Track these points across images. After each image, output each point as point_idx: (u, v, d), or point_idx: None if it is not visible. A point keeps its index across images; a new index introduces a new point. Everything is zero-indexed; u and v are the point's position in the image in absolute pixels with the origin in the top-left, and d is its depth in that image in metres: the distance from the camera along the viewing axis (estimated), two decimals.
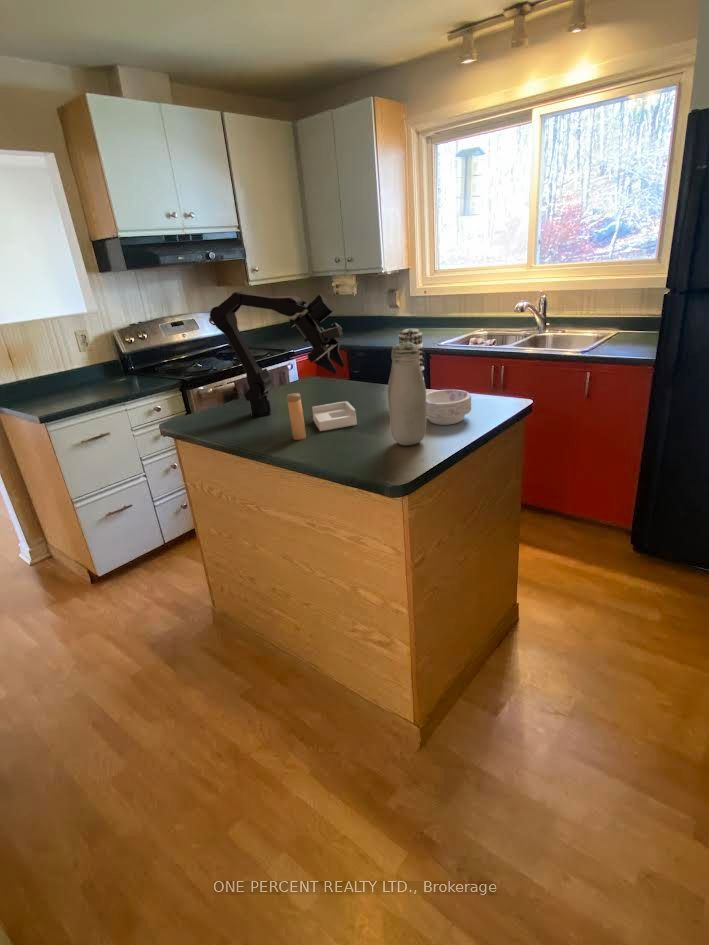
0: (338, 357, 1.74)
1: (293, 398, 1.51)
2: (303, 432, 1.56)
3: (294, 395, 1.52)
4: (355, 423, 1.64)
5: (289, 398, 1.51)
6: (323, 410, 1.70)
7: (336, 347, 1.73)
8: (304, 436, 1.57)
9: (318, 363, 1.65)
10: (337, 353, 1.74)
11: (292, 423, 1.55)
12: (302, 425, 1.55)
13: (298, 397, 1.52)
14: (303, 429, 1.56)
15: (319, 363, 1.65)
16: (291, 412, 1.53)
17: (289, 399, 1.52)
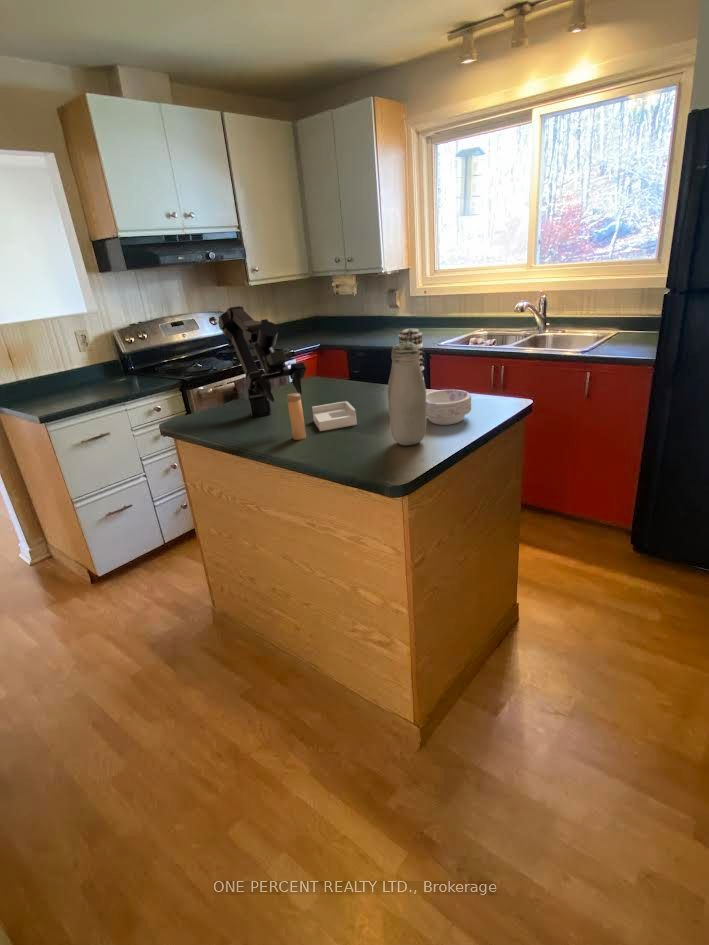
0: (297, 384, 1.60)
1: (293, 398, 1.51)
2: (303, 432, 1.56)
3: (294, 395, 1.52)
4: (355, 423, 1.64)
5: (289, 398, 1.51)
6: (323, 410, 1.70)
7: (295, 374, 1.60)
8: (304, 436, 1.57)
9: (259, 390, 1.58)
10: (296, 380, 1.60)
11: (292, 423, 1.55)
12: (302, 425, 1.55)
13: (298, 397, 1.52)
14: (303, 429, 1.56)
15: (259, 390, 1.58)
16: (291, 412, 1.53)
17: (289, 399, 1.52)
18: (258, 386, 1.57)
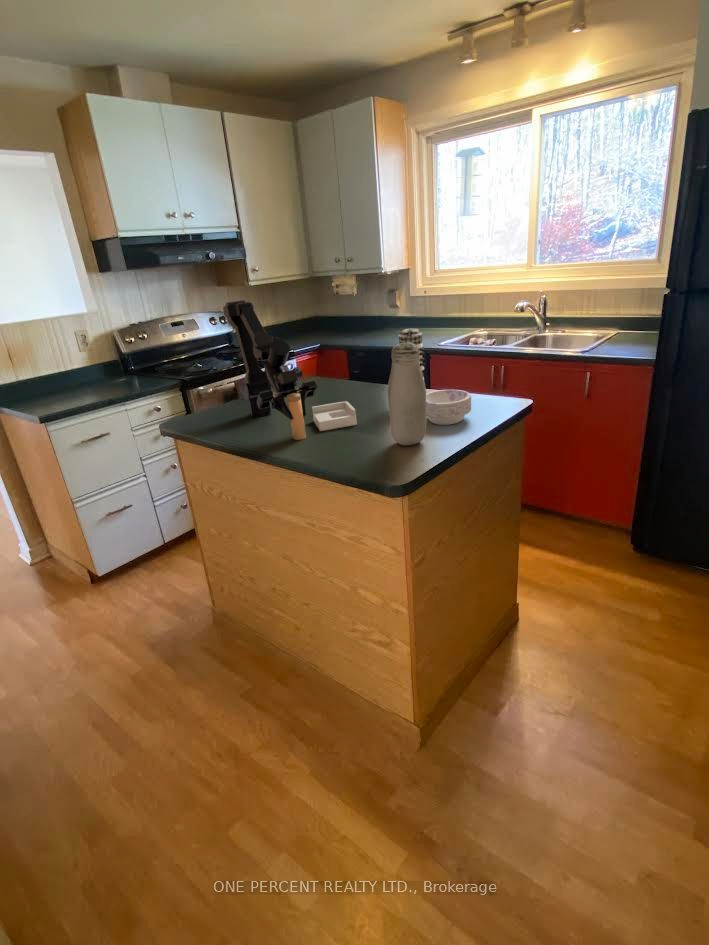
0: None
1: (293, 398, 1.51)
2: (303, 432, 1.56)
3: (294, 395, 1.52)
4: (355, 423, 1.64)
5: (289, 398, 1.51)
6: (323, 410, 1.70)
7: None
8: (304, 436, 1.57)
9: (277, 408, 1.56)
10: None
11: (292, 423, 1.55)
12: (302, 425, 1.55)
13: (298, 397, 1.52)
14: (303, 429, 1.56)
15: (277, 408, 1.56)
16: (291, 412, 1.53)
17: (289, 399, 1.52)
18: (276, 404, 1.55)
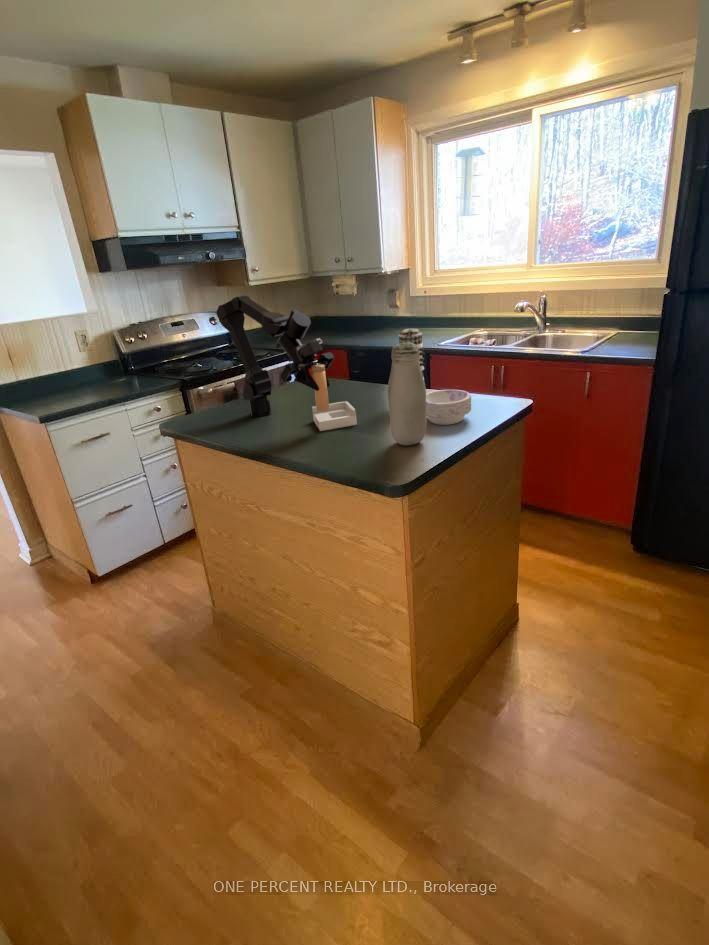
0: None
1: (319, 368, 1.53)
2: (328, 403, 1.59)
3: (319, 366, 1.54)
4: (355, 423, 1.64)
5: (315, 369, 1.53)
6: None
7: None
8: (328, 407, 1.59)
9: (300, 380, 1.56)
10: None
11: (317, 394, 1.56)
12: (327, 396, 1.58)
13: (323, 367, 1.54)
14: (327, 400, 1.58)
15: (300, 380, 1.56)
16: (317, 383, 1.55)
17: (315, 370, 1.53)
18: (300, 376, 1.55)
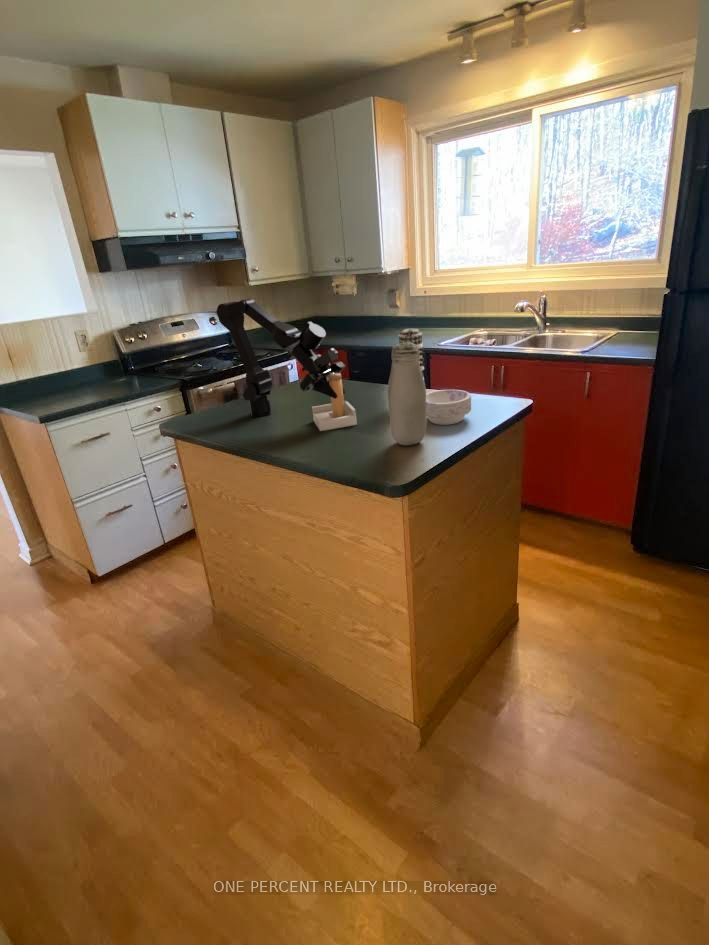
0: None
1: (337, 377, 1.59)
2: (344, 409, 1.65)
3: (336, 374, 1.60)
4: (355, 423, 1.64)
5: (333, 377, 1.59)
6: (323, 410, 1.70)
7: None
8: (344, 413, 1.66)
9: (317, 389, 1.62)
10: None
11: (335, 401, 1.62)
12: (343, 403, 1.64)
13: (340, 376, 1.61)
14: (344, 407, 1.65)
15: (318, 389, 1.61)
16: (335, 391, 1.61)
17: (333, 378, 1.59)
18: (318, 385, 1.60)
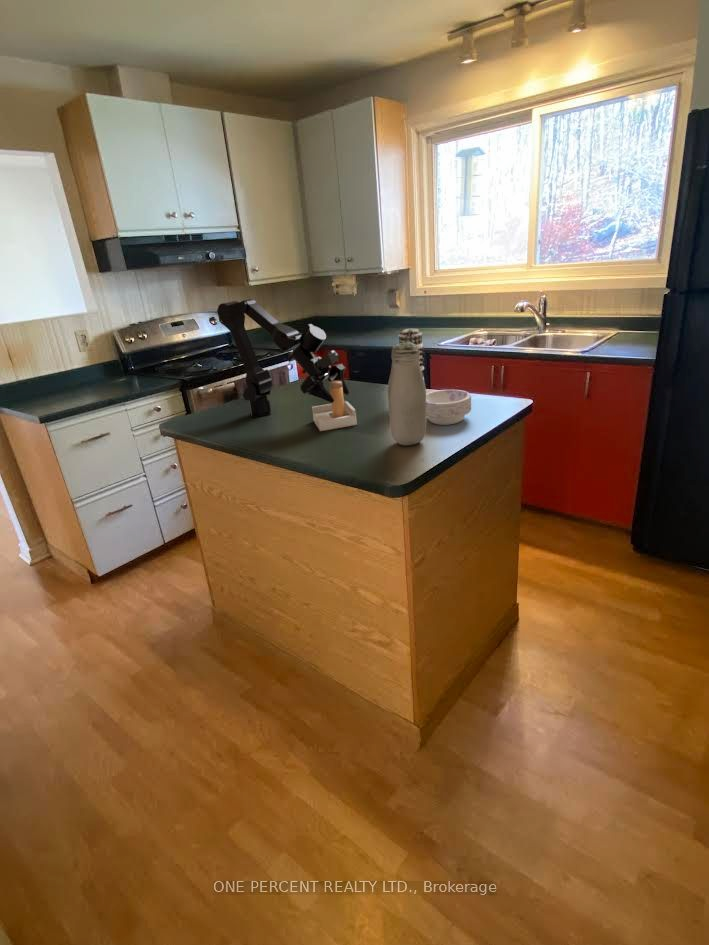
0: (342, 385, 1.66)
1: (338, 385, 1.60)
2: None
3: (337, 382, 1.61)
4: (355, 423, 1.64)
5: (334, 385, 1.60)
6: (323, 410, 1.70)
7: (339, 375, 1.66)
8: None
9: (313, 393, 1.60)
10: None
11: (336, 409, 1.63)
12: (344, 410, 1.65)
13: (341, 383, 1.62)
14: None
15: (314, 393, 1.60)
16: (336, 398, 1.62)
17: (334, 386, 1.60)
18: (314, 389, 1.59)
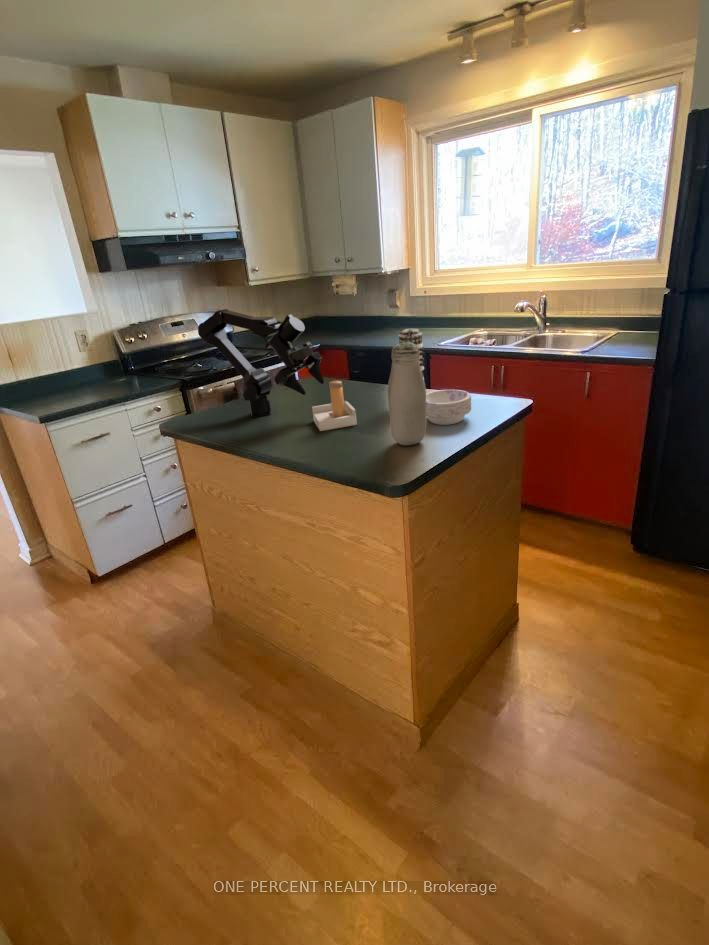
0: (317, 374, 1.72)
1: (338, 385, 1.60)
2: None
3: (337, 382, 1.61)
4: (355, 423, 1.64)
5: (334, 385, 1.60)
6: (323, 410, 1.70)
7: (315, 364, 1.71)
8: None
9: (287, 385, 1.66)
10: (316, 370, 1.71)
11: (336, 409, 1.63)
12: (344, 410, 1.65)
13: (341, 383, 1.62)
14: None
15: (287, 385, 1.66)
16: (336, 398, 1.62)
17: (334, 386, 1.60)
18: (287, 381, 1.65)
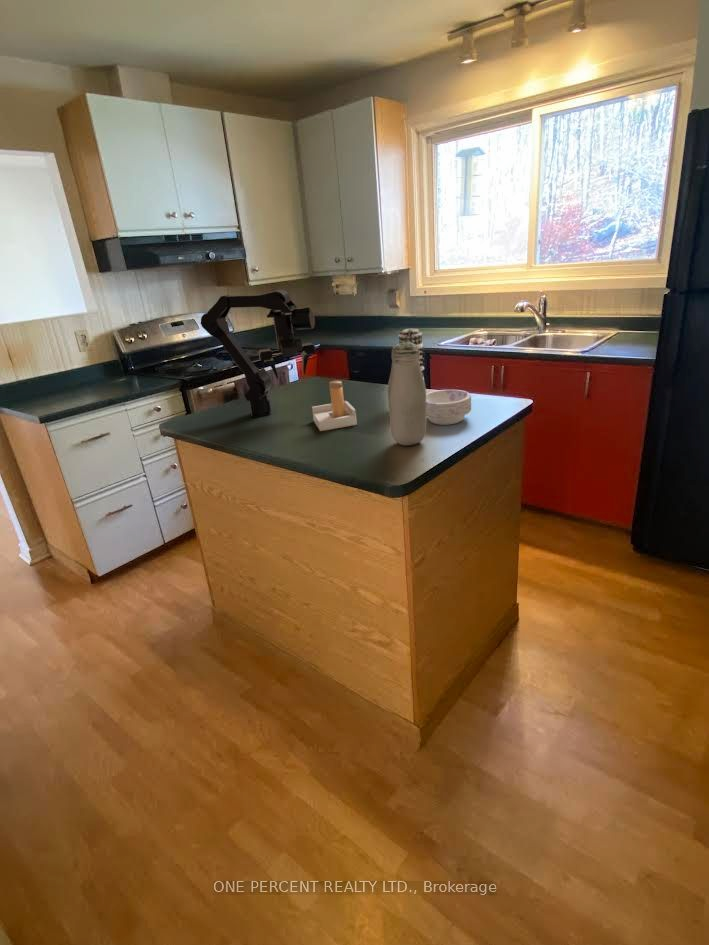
0: (303, 365, 1.76)
1: (338, 385, 1.60)
2: None
3: (337, 382, 1.61)
4: (355, 423, 1.64)
5: (334, 385, 1.60)
6: (323, 410, 1.70)
7: (303, 357, 1.73)
8: None
9: None
10: (303, 361, 1.75)
11: (336, 409, 1.63)
12: (344, 410, 1.65)
13: (341, 383, 1.62)
14: None
15: None
16: (336, 398, 1.62)
17: (334, 386, 1.60)
18: None
